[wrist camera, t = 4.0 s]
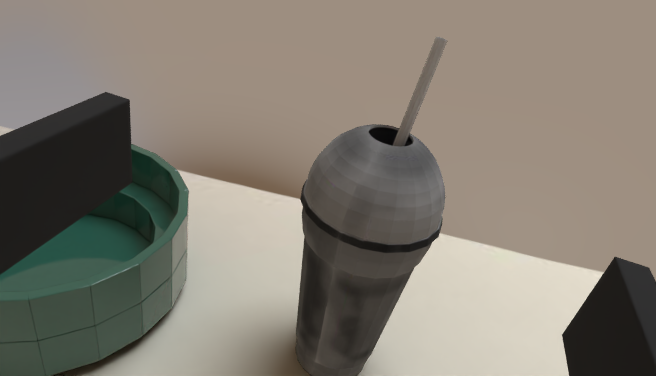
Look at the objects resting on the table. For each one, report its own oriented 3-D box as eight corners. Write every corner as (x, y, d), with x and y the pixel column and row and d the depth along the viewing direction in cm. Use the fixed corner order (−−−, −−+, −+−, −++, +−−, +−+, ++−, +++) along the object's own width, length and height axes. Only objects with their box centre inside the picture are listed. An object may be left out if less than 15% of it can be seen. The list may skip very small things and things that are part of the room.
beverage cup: (258, 319, 31) (304, 5, 20) (355, 299, 34) (438, 18, 23) (297, 420, 25) (387, 65, 15) (408, 385, 29) (546, 71, 18)
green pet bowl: (189, 209, 39) (191, 140, 36) (182, 376, 26) (184, 294, 23) (-35, 205, 35) (-57, 126, 31) (-174, 403, 22) (-238, 308, 19)
